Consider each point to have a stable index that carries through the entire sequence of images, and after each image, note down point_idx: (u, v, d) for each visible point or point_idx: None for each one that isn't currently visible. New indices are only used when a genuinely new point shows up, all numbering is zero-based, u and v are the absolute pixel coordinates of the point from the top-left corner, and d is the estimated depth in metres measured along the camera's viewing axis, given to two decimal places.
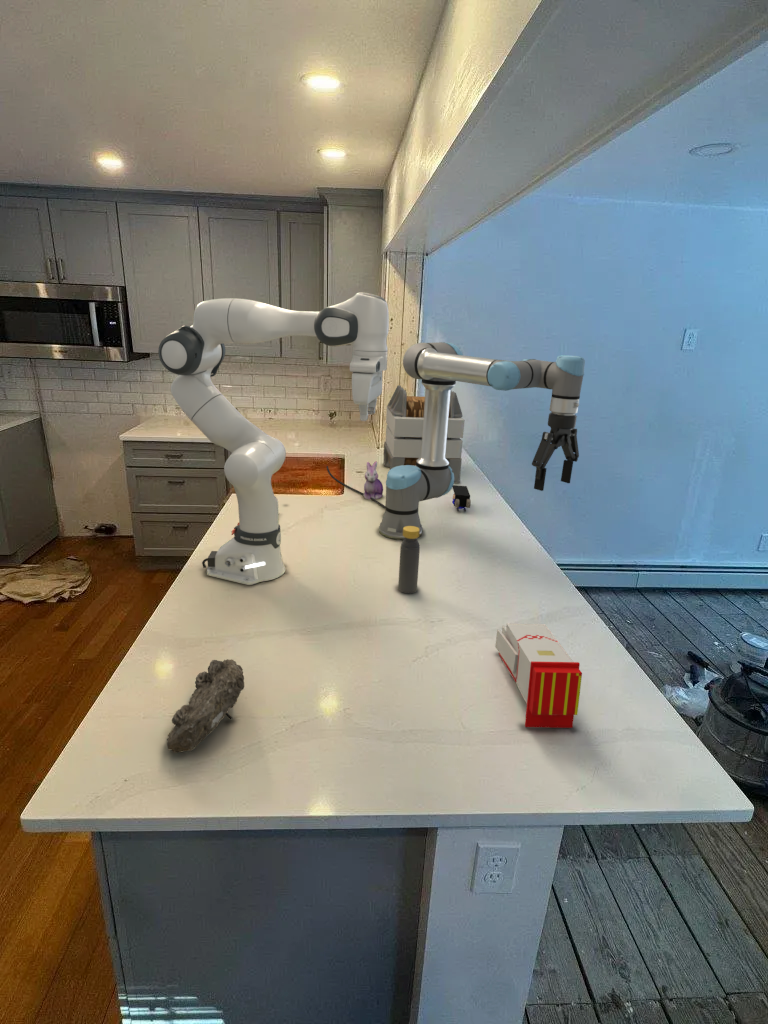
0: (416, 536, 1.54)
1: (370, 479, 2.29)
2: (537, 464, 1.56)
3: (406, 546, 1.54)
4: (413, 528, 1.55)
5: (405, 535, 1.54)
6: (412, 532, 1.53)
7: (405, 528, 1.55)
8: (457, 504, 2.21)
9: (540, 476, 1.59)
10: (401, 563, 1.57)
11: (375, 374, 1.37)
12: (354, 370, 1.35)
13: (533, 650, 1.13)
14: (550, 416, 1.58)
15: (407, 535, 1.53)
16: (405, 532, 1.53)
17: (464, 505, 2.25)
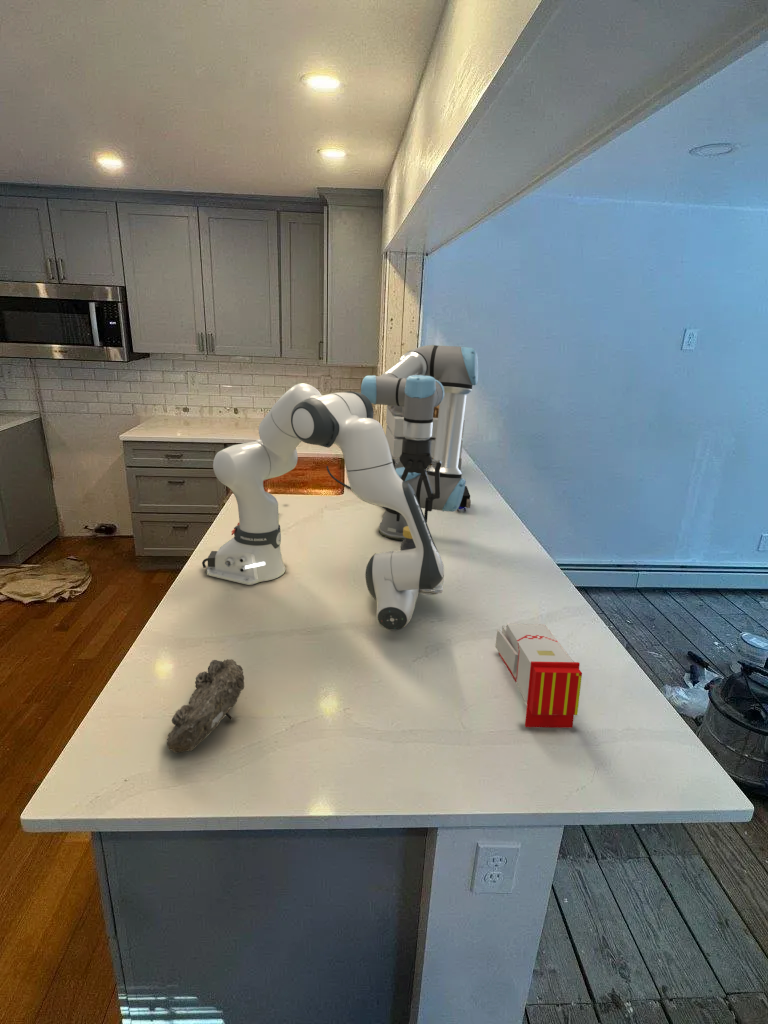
0: None
1: None
2: None
3: (406, 546, 1.54)
4: None
5: (405, 535, 1.54)
6: None
7: (405, 528, 1.55)
8: None
9: None
10: None
11: None
12: None
13: (533, 650, 1.13)
14: (429, 443, 1.44)
15: (407, 535, 1.53)
16: (405, 532, 1.53)
17: (464, 505, 2.25)
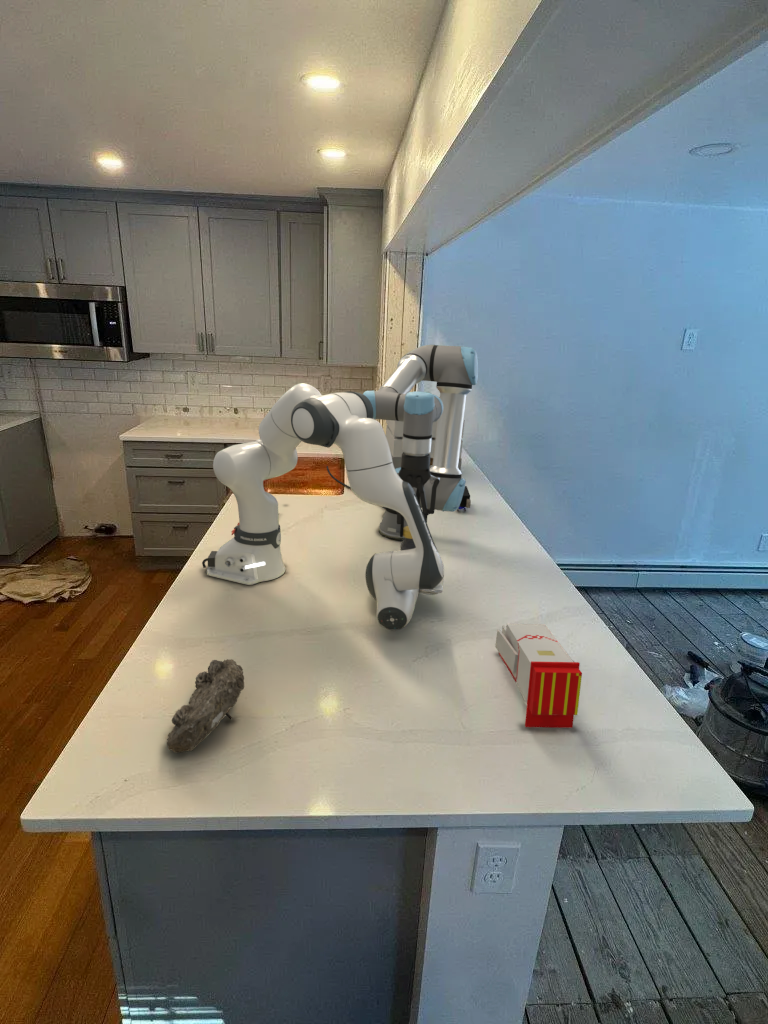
0: None
1: None
2: None
3: (406, 546, 1.54)
4: None
5: (405, 535, 1.54)
6: None
7: (405, 528, 1.55)
8: None
9: None
10: None
11: None
12: None
13: (533, 650, 1.13)
14: (428, 458, 1.46)
15: (407, 535, 1.53)
16: (405, 532, 1.53)
17: (464, 505, 2.25)
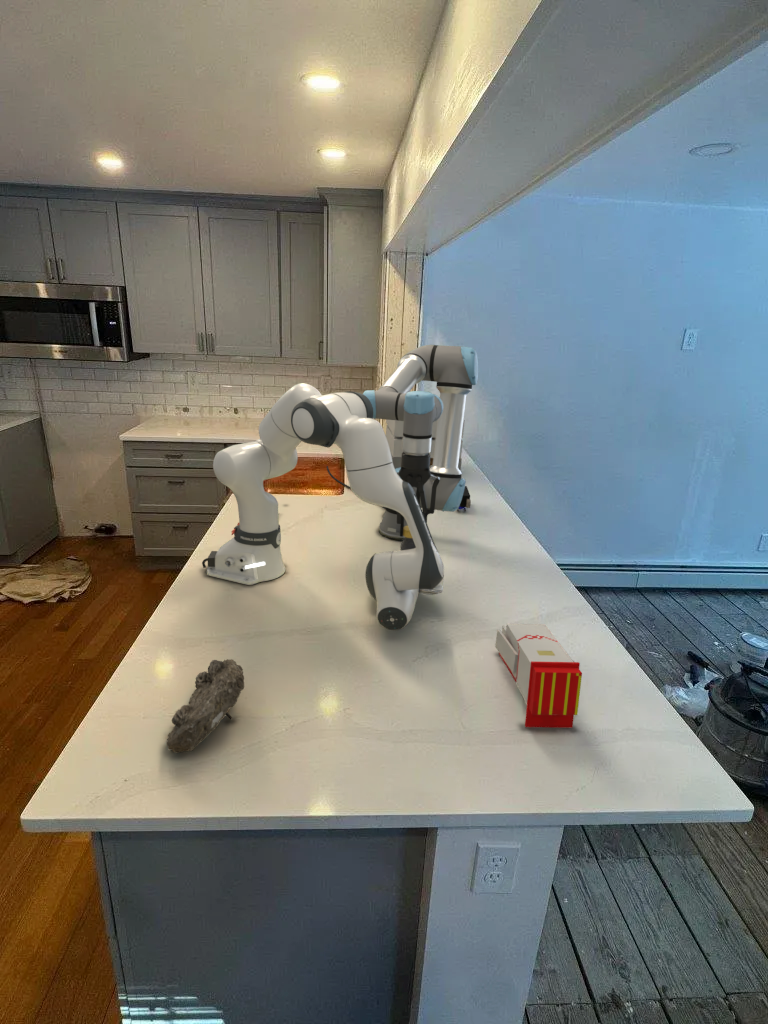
0: None
1: None
2: (434, 508, 1.53)
3: (406, 546, 1.54)
4: None
5: None
6: None
7: None
8: None
9: None
10: None
11: None
12: None
13: (533, 650, 1.13)
14: (428, 458, 1.46)
15: None
16: None
17: (464, 505, 2.25)
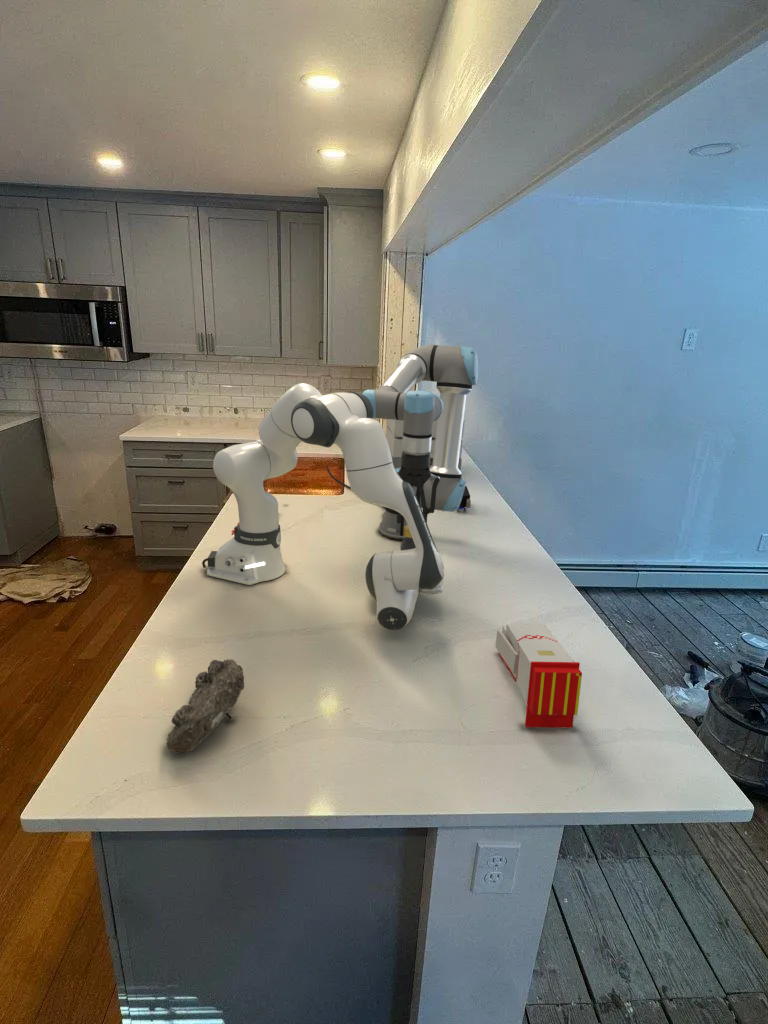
0: (403, 533, 1.54)
1: None
2: None
3: (406, 546, 1.54)
4: None
5: None
6: None
7: None
8: None
9: None
10: None
11: None
12: None
13: (533, 650, 1.13)
14: (428, 457, 1.46)
15: None
16: None
17: (464, 505, 2.25)
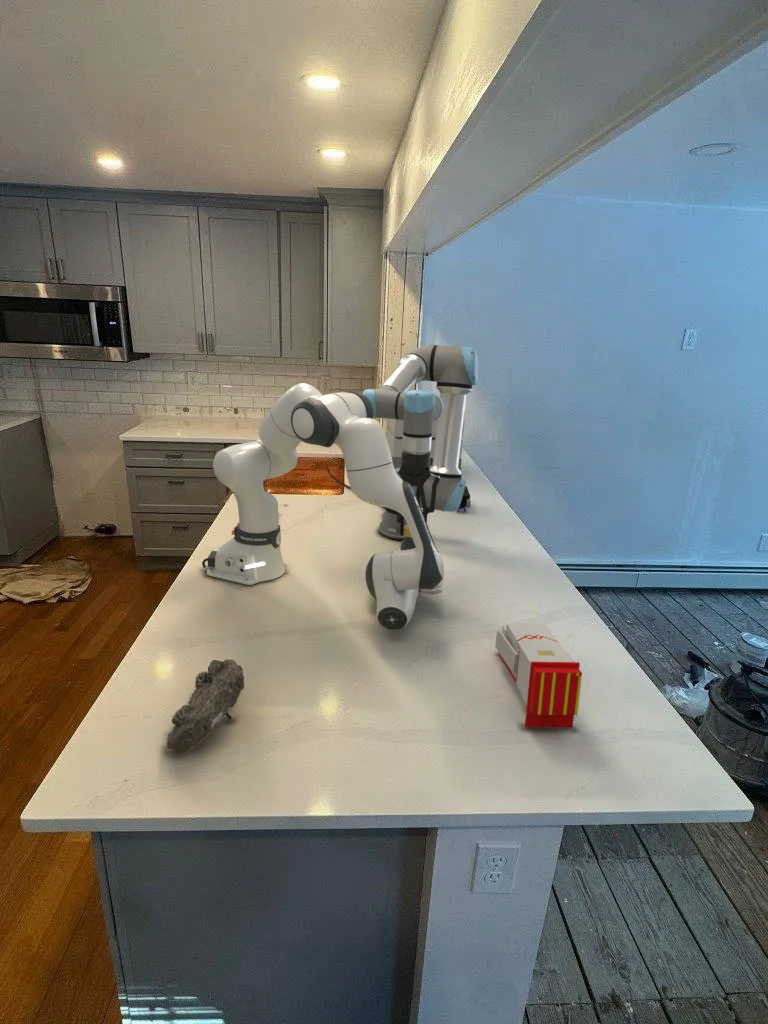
0: None
1: None
2: None
3: (406, 546, 1.54)
4: None
5: (407, 534, 1.53)
6: None
7: (405, 527, 1.54)
8: None
9: None
10: None
11: None
12: None
13: (533, 650, 1.13)
14: (428, 457, 1.46)
15: (409, 534, 1.53)
16: (406, 531, 1.53)
17: (464, 505, 2.25)
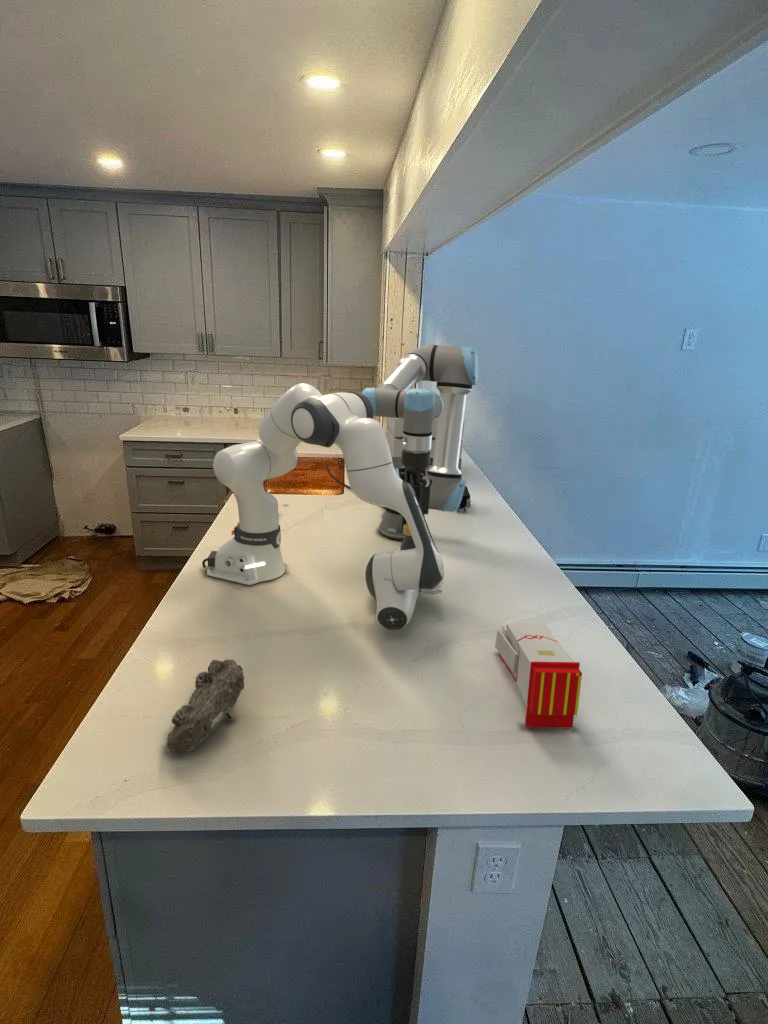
0: None
1: None
2: None
3: (406, 546, 1.54)
4: None
5: None
6: None
7: None
8: None
9: None
10: None
11: None
12: None
13: (533, 650, 1.13)
14: None
15: None
16: None
17: (464, 505, 2.25)
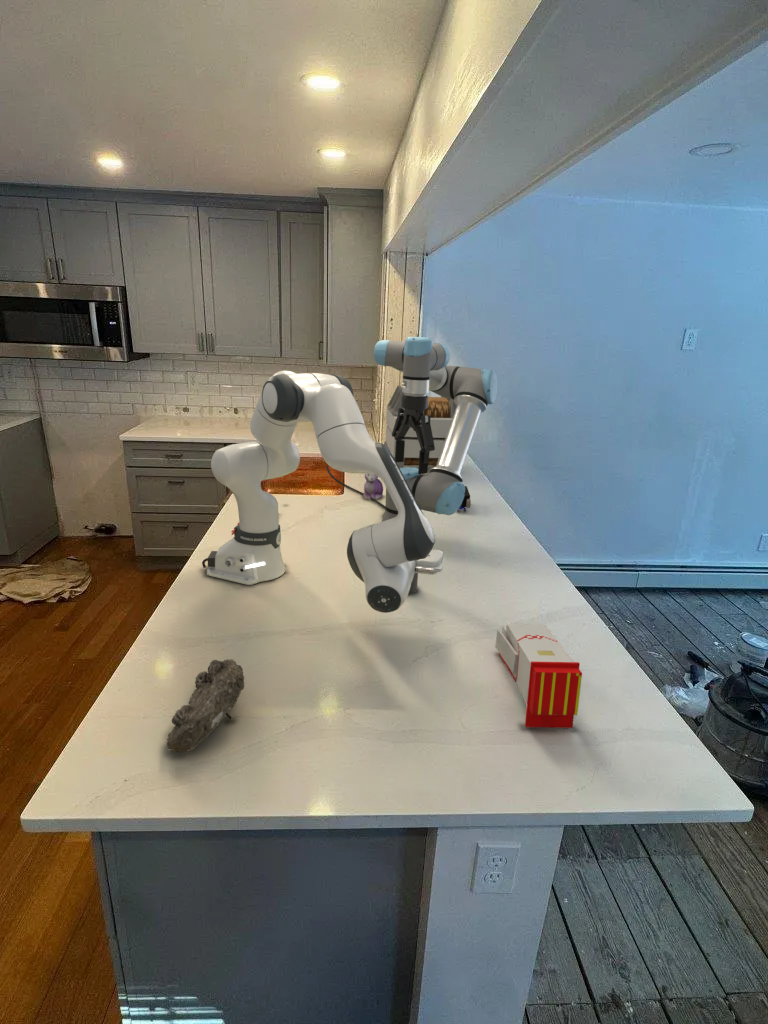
0: None
1: (370, 479, 2.29)
2: None
3: None
4: None
5: None
6: None
7: None
8: None
9: None
10: None
11: None
12: None
13: (533, 650, 1.13)
14: None
15: None
16: None
17: (464, 505, 2.25)
